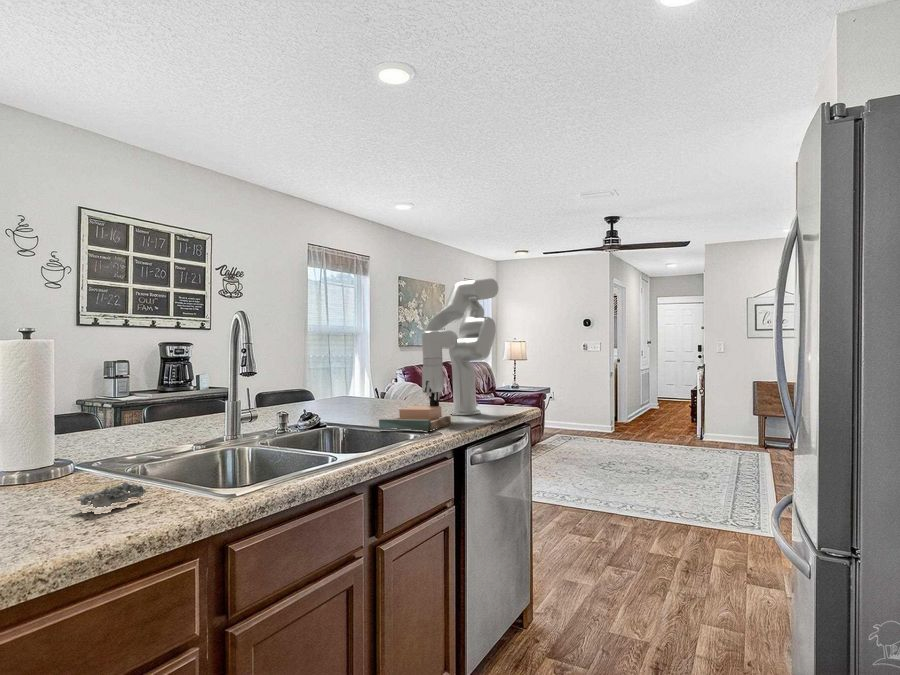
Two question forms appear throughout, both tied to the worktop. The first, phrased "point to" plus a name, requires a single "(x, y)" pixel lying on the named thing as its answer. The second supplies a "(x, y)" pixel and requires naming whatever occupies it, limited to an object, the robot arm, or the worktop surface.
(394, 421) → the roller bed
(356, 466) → the worktop surface
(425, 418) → the clay slab
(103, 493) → the grey rough flat piece
